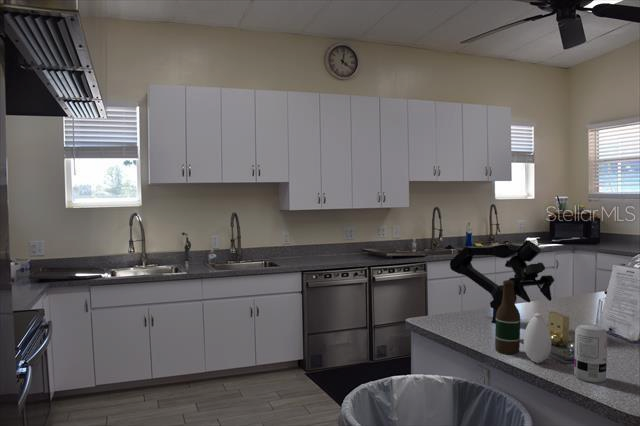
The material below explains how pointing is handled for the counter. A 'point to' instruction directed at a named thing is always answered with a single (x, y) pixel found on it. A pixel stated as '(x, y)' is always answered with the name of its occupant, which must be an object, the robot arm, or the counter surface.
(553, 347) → the rubber mat
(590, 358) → the supplement can
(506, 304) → the beer bottle
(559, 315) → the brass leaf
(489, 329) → the counter surface
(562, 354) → the gunmetal leaf
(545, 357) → the sauce bottle
